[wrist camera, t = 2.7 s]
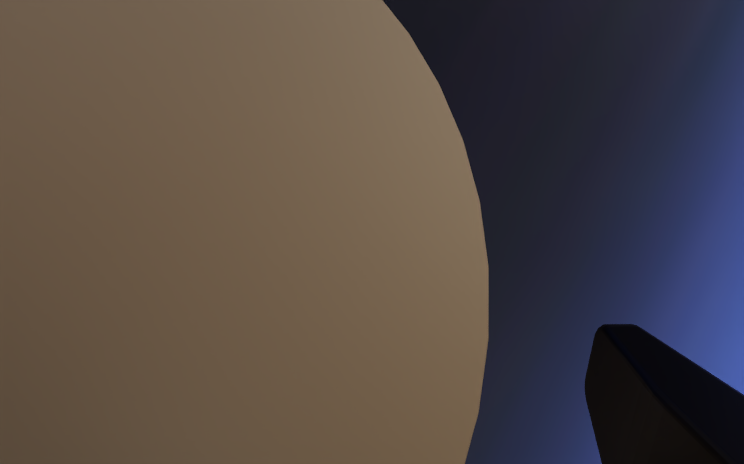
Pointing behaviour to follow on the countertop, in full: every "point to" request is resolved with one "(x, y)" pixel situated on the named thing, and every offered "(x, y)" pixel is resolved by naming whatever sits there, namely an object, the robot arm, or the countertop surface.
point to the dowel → (233, 238)
